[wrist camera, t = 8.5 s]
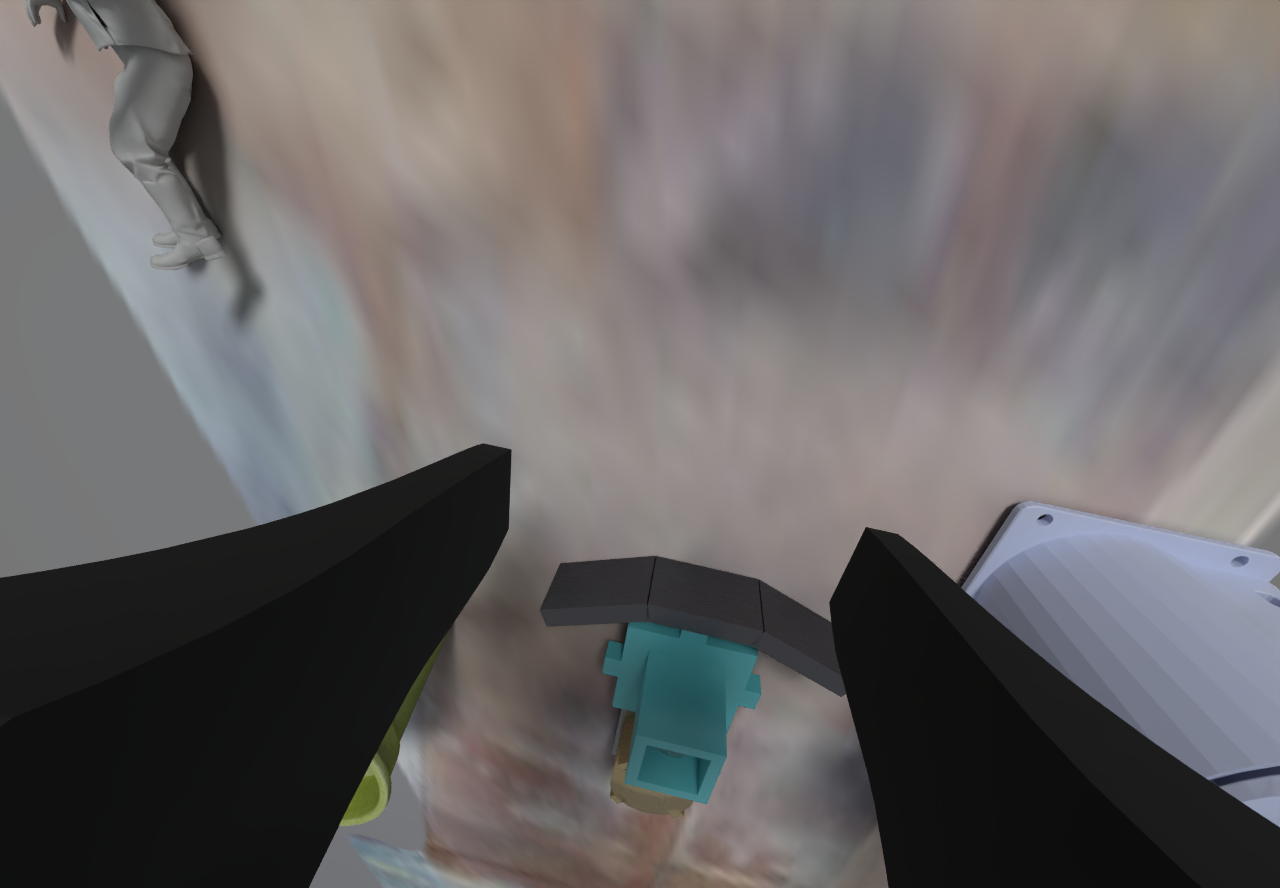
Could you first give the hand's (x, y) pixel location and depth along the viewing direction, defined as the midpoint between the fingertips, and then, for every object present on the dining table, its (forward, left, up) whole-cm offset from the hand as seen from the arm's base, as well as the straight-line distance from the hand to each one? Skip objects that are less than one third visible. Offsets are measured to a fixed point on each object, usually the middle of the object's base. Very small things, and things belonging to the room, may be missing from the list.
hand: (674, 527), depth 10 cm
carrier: (-2, +16, -9) cm, 19 cm away
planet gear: (-2, +15, -8) cm, 17 cm away
